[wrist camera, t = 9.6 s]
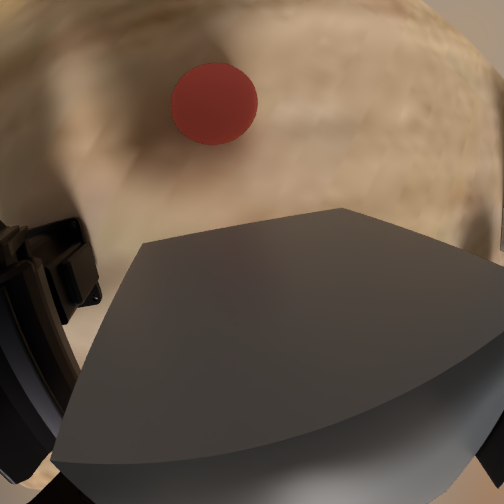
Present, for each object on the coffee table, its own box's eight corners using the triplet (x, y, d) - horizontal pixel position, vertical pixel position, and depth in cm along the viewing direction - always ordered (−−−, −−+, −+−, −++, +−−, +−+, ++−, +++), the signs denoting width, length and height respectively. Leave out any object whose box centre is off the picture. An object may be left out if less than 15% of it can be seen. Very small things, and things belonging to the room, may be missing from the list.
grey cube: (190, 400, 12) (216, 576, 4) (142, 243, 10) (49, 461, 2) (343, 361, 14) (446, 491, 5) (342, 207, 11) (551, 289, 3)
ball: (166, 51, 12) (172, 87, 17) (169, 137, 13) (176, 156, 18) (260, 46, 13) (245, 82, 18) (272, 129, 14) (252, 149, 19)
